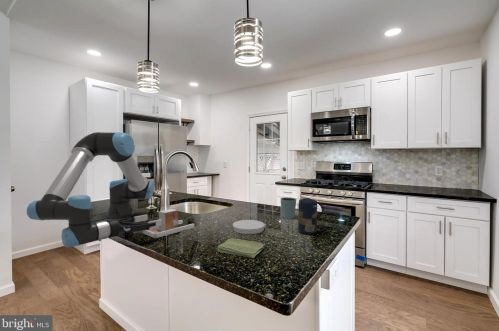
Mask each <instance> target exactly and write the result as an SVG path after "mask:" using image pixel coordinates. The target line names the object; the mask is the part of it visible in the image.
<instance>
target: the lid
mask: <svg viewBox="0 0 499 331" xmlns="http://www.w3.org/2000/svg"><path fill="white" fill-rule="evenodd" d="M232 227H233V228H232V229H233V231H234V232H235V233H238V234H243V235H255V234H260V233H262V232H264V230H265V228H267V224H266V223H264V222H263V221H260V220H255V219H242V220H237V221H234V222H233V223H232Z"/></svg>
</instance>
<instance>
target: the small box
mask: <svg viewBox="0 0 499 331" xmlns="http://www.w3.org/2000/svg"><path fill="white" fill-rule="evenodd" d="M159 219H162V225H160V226H159V230H158V231H159V232H162V231H166V230H170V229H174V228H178V227H179V225H178V221H179V210H178V209H174V208H169V209H165V210H160V211H158V220H159Z"/></svg>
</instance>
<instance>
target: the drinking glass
mask: <svg viewBox="0 0 499 331" xmlns="http://www.w3.org/2000/svg"><path fill="white" fill-rule="evenodd" d="M296 207H297V198H294V197H285V196H284V197H280V217H281V219H284V220H293V219H295V217H296Z"/></svg>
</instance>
